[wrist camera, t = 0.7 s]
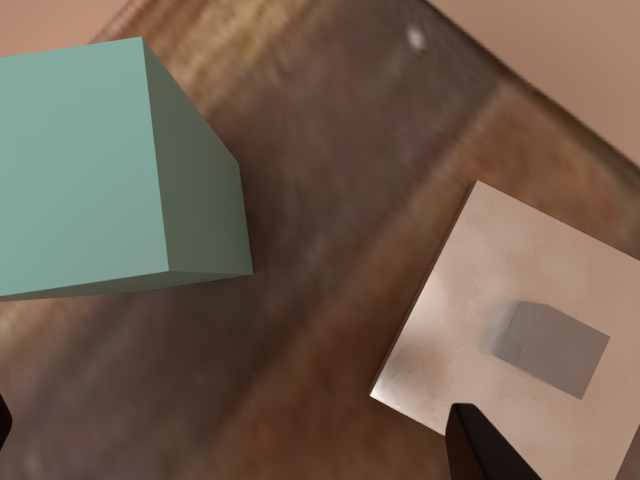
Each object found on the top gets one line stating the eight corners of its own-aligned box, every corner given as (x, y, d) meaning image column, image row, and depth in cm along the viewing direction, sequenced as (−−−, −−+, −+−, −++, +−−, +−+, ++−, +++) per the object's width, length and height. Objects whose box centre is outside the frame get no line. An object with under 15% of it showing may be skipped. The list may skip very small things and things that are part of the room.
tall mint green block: (253, 274, 22) (169, 271, 10) (140, 291, 22) (-77, 307, 10) (238, 163, 23) (141, 36, 11) (128, 180, 23) (-92, 71, 11)
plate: (584, 506, 21) (636, 552, 17) (367, 390, 22) (376, 411, 18) (681, 290, 22) (749, 292, 18) (470, 184, 22) (497, 167, 19)
